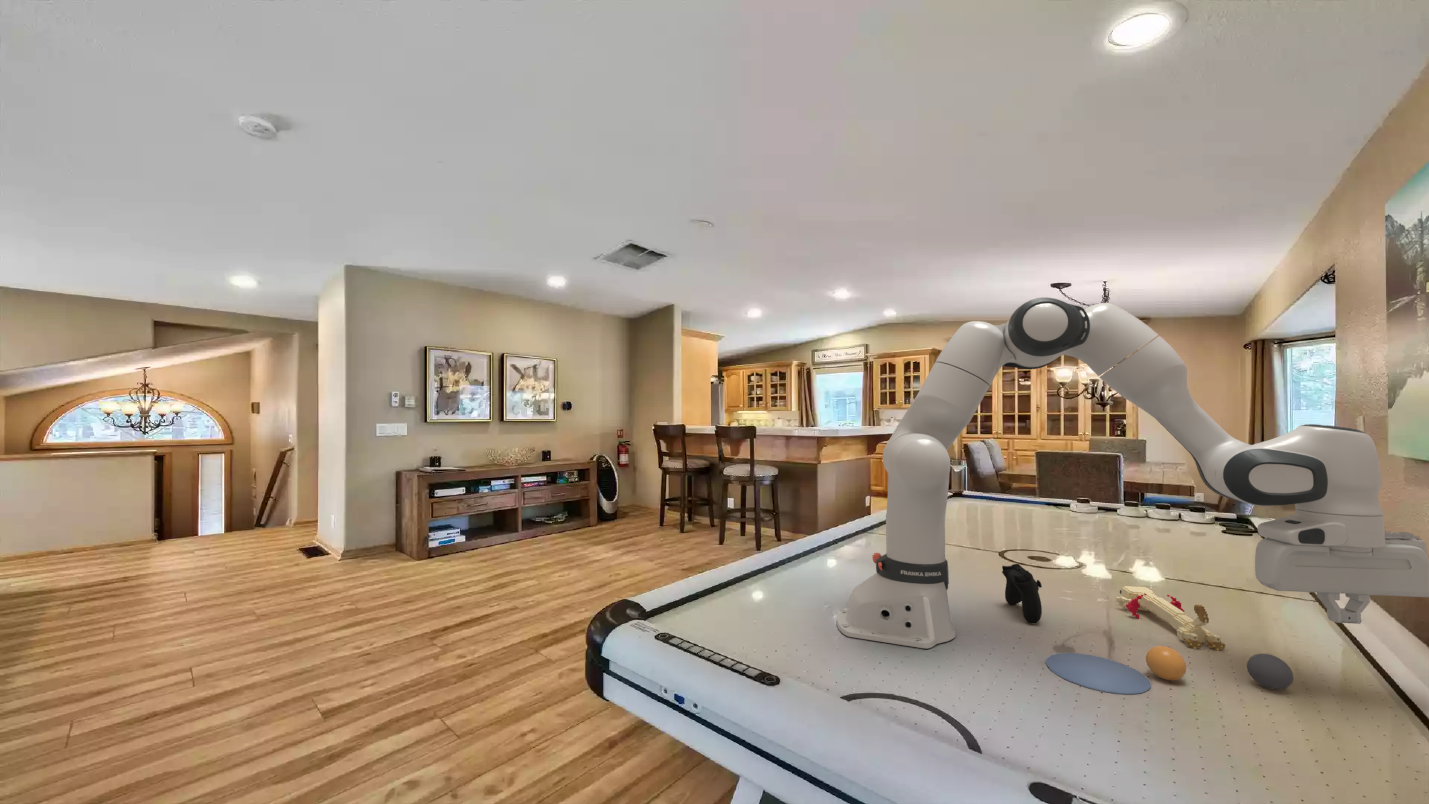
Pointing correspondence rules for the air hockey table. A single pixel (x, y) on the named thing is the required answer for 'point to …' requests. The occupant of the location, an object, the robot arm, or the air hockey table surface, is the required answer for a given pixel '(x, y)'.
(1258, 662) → the dark grey ball
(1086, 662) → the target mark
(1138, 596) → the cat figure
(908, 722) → the air hockey table surface
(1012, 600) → the gaming controller
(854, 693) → the air hockey table surface
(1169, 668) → the object ball
